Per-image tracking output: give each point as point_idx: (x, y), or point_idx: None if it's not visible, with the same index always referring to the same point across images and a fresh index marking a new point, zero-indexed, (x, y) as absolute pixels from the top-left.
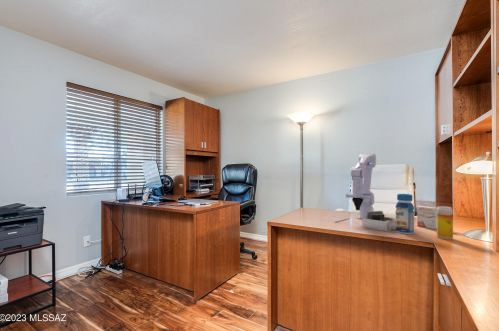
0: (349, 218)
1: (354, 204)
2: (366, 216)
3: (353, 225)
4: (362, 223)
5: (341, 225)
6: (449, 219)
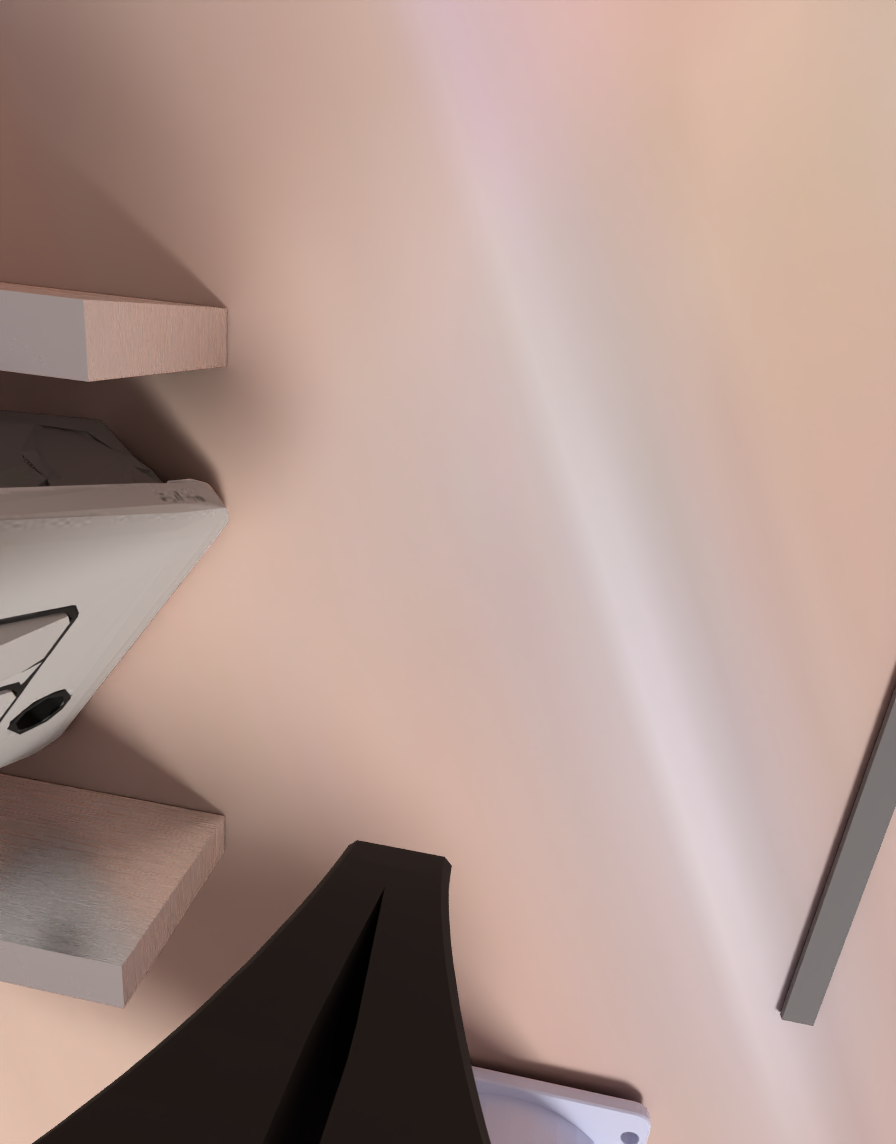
0: (791, 1002)
1: (472, 1098)
2: (7, 506)
3: (454, 308)
4: (175, 306)
5: (745, 10)
6: None
